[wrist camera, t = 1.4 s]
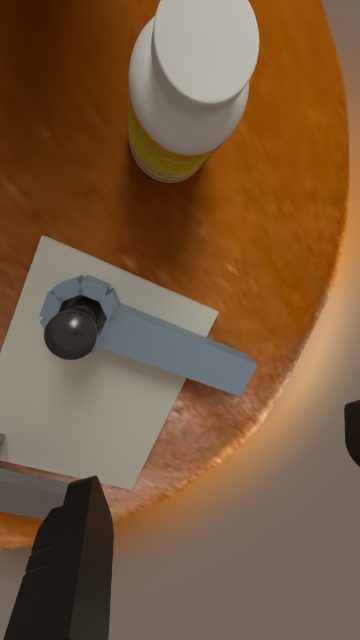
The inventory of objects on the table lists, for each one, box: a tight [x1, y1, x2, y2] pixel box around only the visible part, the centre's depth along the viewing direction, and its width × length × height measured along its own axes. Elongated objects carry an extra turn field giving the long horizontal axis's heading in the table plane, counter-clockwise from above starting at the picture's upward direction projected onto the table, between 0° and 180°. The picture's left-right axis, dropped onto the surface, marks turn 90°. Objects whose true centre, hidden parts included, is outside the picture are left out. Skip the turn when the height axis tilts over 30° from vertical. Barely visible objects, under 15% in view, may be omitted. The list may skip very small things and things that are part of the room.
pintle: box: [44, 296, 101, 360], centre depth 23 cm, size 3×3×9 cm
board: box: [0, 235, 219, 490], centre depth 28 cm, size 22×17×1 cm
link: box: [39, 275, 257, 397], centre depth 26 cm, size 19×6×3 cm, turn 65°
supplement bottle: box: [129, 0, 259, 183], centre depth 18 cm, size 7×7×13 cm
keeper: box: [0, 433, 69, 520], centre depth 27 cm, size 3×10×6 cm, turn 65°
